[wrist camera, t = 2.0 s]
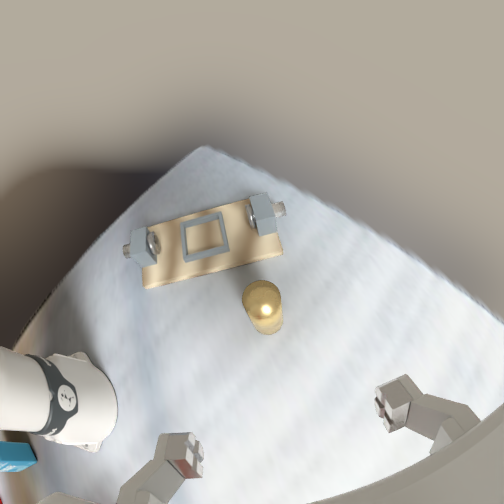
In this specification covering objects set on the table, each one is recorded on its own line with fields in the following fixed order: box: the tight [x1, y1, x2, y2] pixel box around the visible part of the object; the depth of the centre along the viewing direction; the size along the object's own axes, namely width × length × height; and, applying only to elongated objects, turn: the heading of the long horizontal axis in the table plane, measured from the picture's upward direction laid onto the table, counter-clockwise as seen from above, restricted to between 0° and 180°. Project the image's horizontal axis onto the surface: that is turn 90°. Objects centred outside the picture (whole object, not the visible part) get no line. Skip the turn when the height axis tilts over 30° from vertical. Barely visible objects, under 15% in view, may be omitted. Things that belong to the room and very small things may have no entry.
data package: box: [0, 441, 37, 472], centre depth 23 cm, size 12×4×12 cm, turn 129°
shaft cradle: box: [123, 192, 286, 289], centre depth 45 cm, size 28×12×6 cm, turn 103°
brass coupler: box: [242, 280, 283, 335], centre depth 35 cm, size 4×4×10 cm
